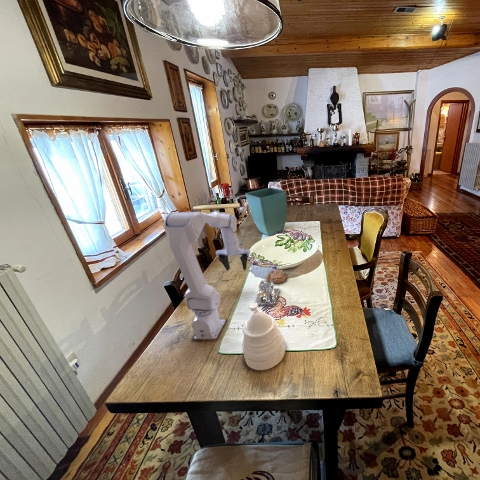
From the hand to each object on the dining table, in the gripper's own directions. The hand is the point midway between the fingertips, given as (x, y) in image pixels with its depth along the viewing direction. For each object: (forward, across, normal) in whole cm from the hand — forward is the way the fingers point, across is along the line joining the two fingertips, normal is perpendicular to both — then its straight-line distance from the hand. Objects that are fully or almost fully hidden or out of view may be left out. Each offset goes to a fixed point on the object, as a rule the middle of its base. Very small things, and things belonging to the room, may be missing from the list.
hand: (236, 269), depth 112 cm
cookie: (+10, -16, -8) cm, 20 cm away
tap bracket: (+10, -14, +7) cm, 19 cm away
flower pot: (+10, +1, -69) cm, 69 cm away
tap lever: (+5, -14, +12) cm, 19 cm away
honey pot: (+10, -20, +36) cm, 43 cm away
